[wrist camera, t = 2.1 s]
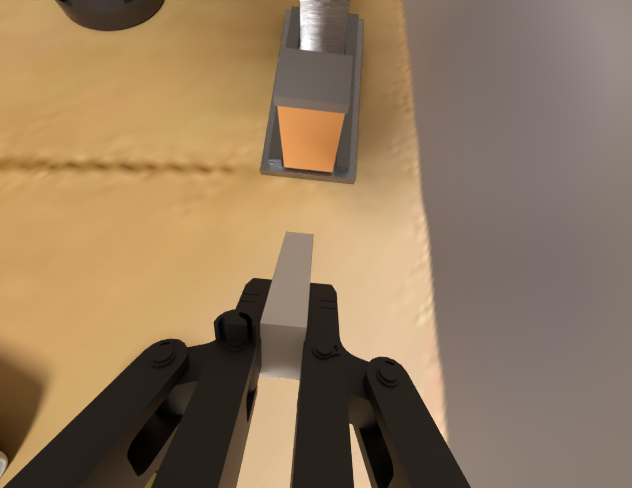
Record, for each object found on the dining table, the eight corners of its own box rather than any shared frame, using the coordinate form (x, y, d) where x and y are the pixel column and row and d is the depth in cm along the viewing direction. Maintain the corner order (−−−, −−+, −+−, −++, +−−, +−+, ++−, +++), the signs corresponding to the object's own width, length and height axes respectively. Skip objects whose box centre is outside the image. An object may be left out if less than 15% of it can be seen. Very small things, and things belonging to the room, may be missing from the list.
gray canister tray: (353, 184, 34) (380, 116, 22) (261, 174, 33) (240, 100, 22) (362, 26, 41) (385, -86, 30) (286, 17, 41) (281, -100, 29)
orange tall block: (333, 173, 32) (349, 105, 22) (282, 168, 32) (273, 96, 22) (336, 137, 34) (352, 55, 23) (287, 131, 34) (281, 47, 23)
